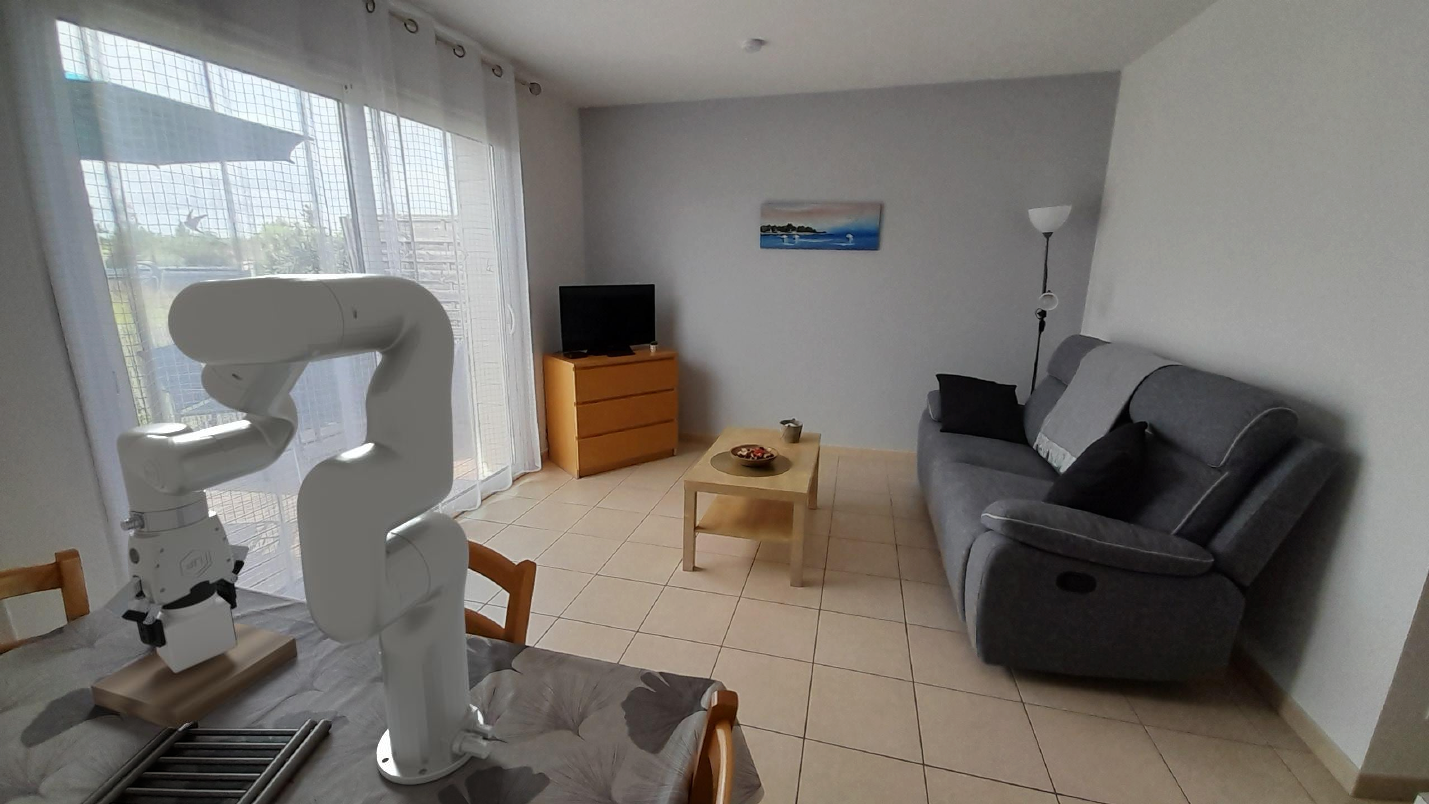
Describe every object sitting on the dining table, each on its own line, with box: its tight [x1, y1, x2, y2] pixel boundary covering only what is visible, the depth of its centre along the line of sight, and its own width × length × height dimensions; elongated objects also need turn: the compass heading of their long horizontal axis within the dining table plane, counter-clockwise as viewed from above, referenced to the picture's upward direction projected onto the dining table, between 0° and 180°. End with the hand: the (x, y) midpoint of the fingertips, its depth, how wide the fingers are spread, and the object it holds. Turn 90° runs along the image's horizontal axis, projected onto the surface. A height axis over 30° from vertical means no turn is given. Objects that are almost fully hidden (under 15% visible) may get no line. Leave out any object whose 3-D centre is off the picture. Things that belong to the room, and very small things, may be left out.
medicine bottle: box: [155, 580, 237, 673], centre depth 81 cm, size 7×7×12 cm
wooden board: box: [90, 621, 298, 728], centre depth 83 cm, size 16×16×3 cm
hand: (193, 624), depth 81 cm, fingers closed on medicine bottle, 8 cm apart
